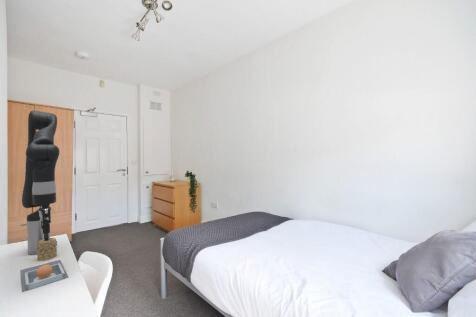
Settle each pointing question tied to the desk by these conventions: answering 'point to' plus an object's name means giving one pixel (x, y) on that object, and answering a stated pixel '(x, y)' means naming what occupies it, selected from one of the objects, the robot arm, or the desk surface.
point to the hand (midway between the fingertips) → (45, 230)
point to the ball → (44, 271)
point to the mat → (36, 275)
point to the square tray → (44, 281)
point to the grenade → (46, 248)
